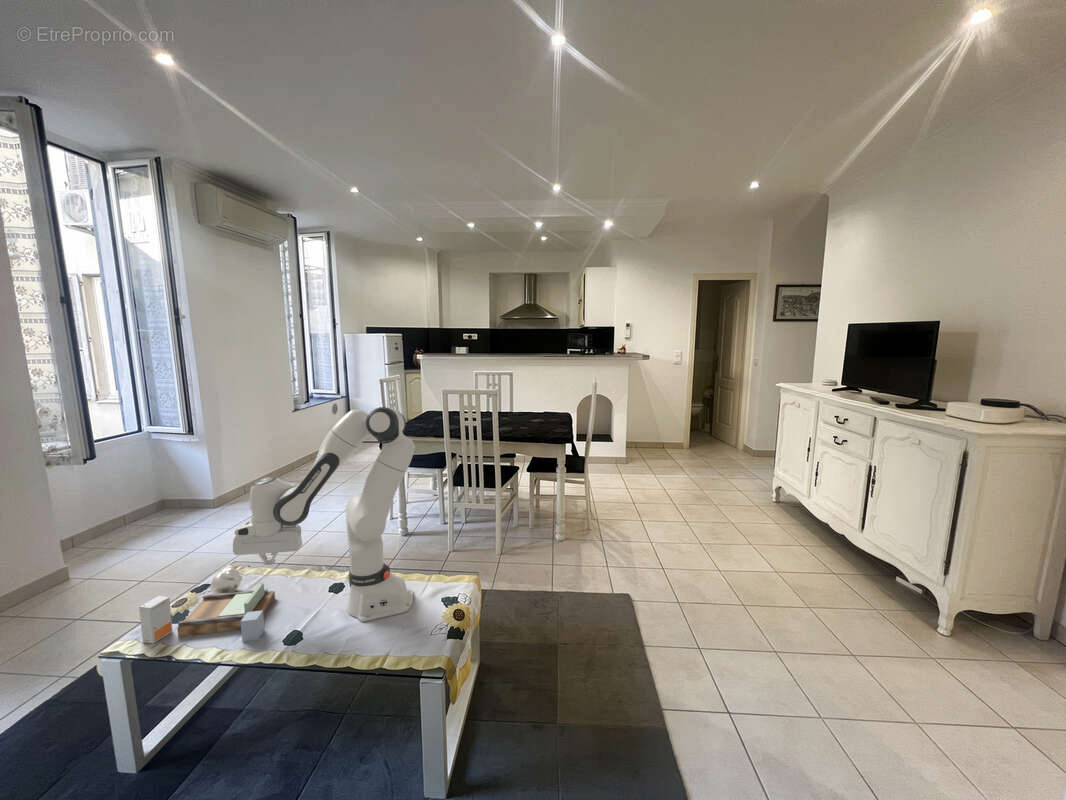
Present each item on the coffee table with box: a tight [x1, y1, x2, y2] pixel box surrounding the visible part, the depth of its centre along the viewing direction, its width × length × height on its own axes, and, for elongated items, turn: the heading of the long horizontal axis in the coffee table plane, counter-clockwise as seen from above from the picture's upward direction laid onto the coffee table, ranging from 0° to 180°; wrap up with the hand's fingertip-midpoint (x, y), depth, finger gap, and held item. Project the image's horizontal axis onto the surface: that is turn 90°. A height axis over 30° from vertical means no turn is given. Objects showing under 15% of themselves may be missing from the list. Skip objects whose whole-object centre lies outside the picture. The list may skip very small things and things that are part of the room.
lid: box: [218, 582, 265, 617], centre depth 142 cm, size 9×12×4 cm
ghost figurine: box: [210, 567, 243, 594], centre depth 153 cm, size 9×10×10 cm
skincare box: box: [138, 595, 173, 645], centre depth 131 cm, size 6×4×12 cm
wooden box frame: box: [177, 588, 276, 637], centre depth 142 cm, size 22×16×4 cm
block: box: [240, 611, 265, 643], centre depth 132 cm, size 4×4×7 cm
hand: (269, 563), depth 142 cm, fingers closed
